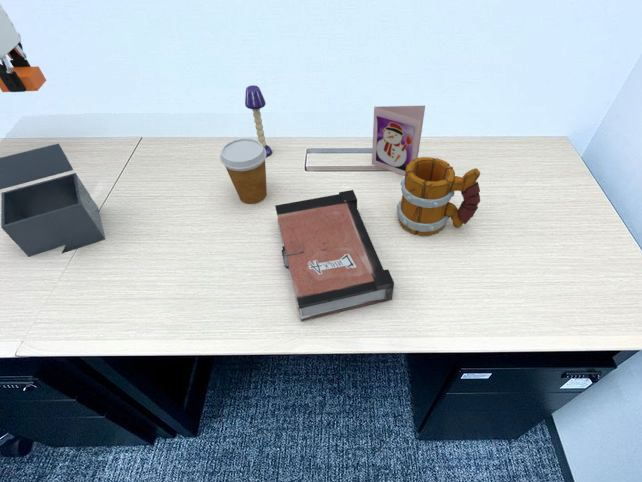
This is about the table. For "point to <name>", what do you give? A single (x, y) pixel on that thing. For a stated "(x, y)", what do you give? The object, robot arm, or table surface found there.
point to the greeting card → (396, 136)
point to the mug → (435, 196)
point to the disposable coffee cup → (246, 168)
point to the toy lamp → (257, 112)
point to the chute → (51, 216)
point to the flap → (32, 165)
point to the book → (331, 256)
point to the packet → (27, 78)
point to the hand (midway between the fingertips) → (23, 84)
